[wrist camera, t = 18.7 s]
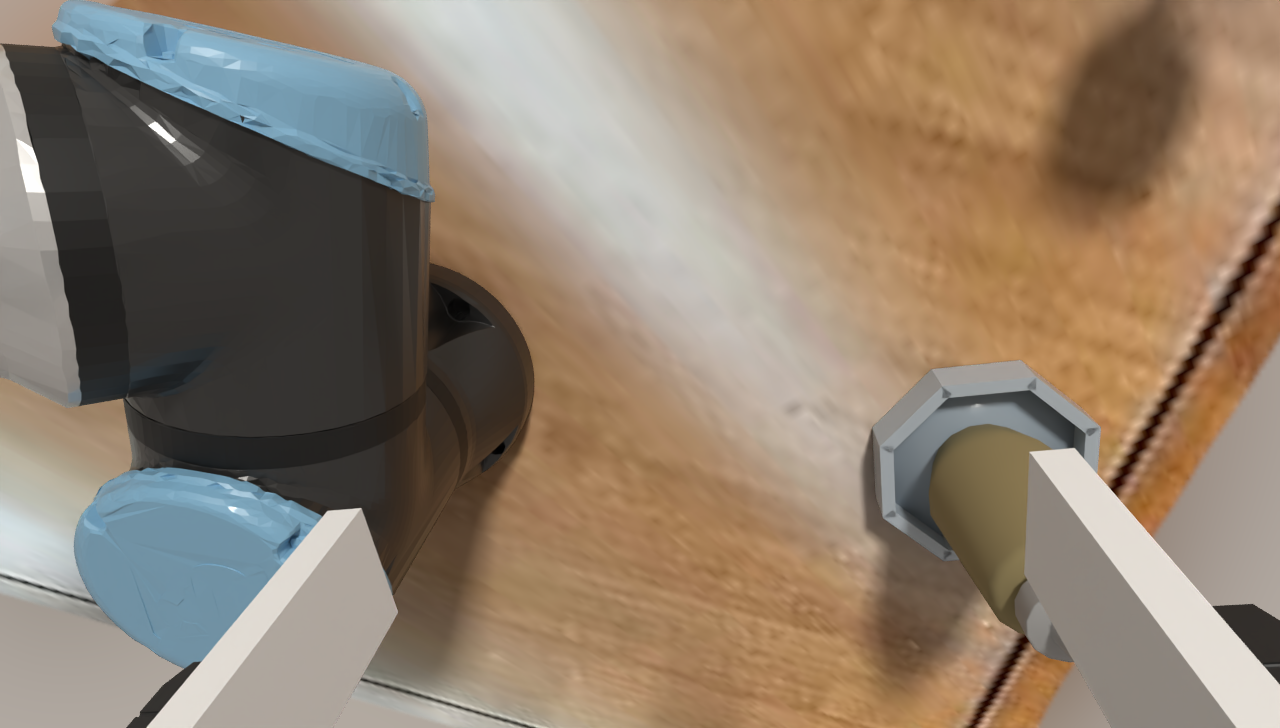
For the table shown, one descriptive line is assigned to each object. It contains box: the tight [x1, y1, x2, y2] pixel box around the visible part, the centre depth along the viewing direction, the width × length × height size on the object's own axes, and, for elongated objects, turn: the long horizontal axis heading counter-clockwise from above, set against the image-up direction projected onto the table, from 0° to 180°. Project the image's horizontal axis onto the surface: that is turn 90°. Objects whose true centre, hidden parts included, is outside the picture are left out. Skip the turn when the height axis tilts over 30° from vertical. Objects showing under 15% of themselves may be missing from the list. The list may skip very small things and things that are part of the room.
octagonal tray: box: [872, 360, 1101, 561], centre depth 47 cm, size 13×13×2 cm
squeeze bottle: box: [929, 424, 1074, 662], centre depth 39 cm, size 8×8×18 cm
